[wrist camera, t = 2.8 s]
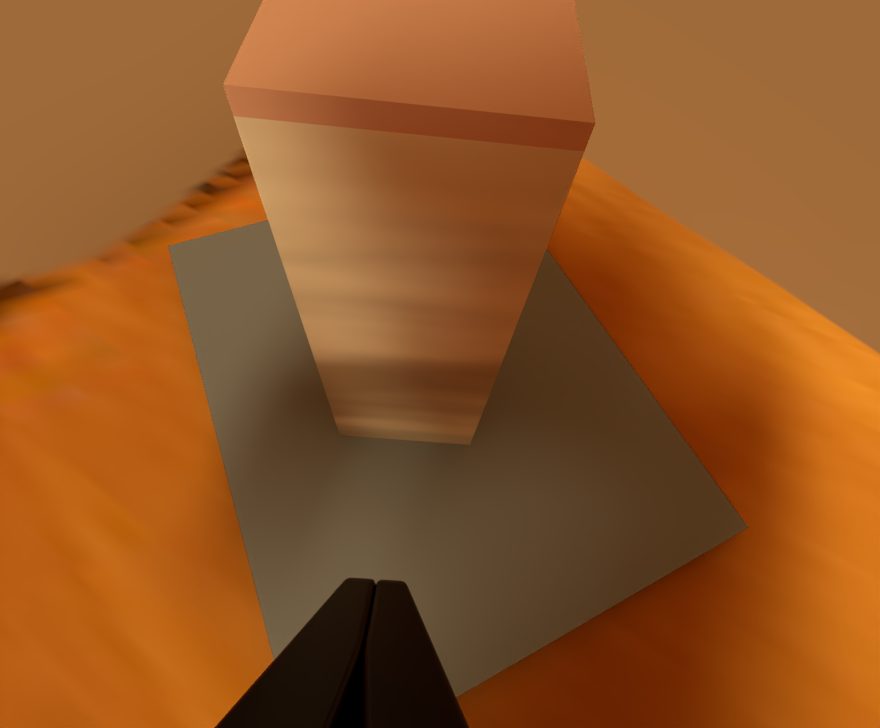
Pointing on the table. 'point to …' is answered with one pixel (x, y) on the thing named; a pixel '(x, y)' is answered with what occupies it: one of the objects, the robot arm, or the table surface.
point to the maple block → (411, 188)
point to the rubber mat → (446, 471)
